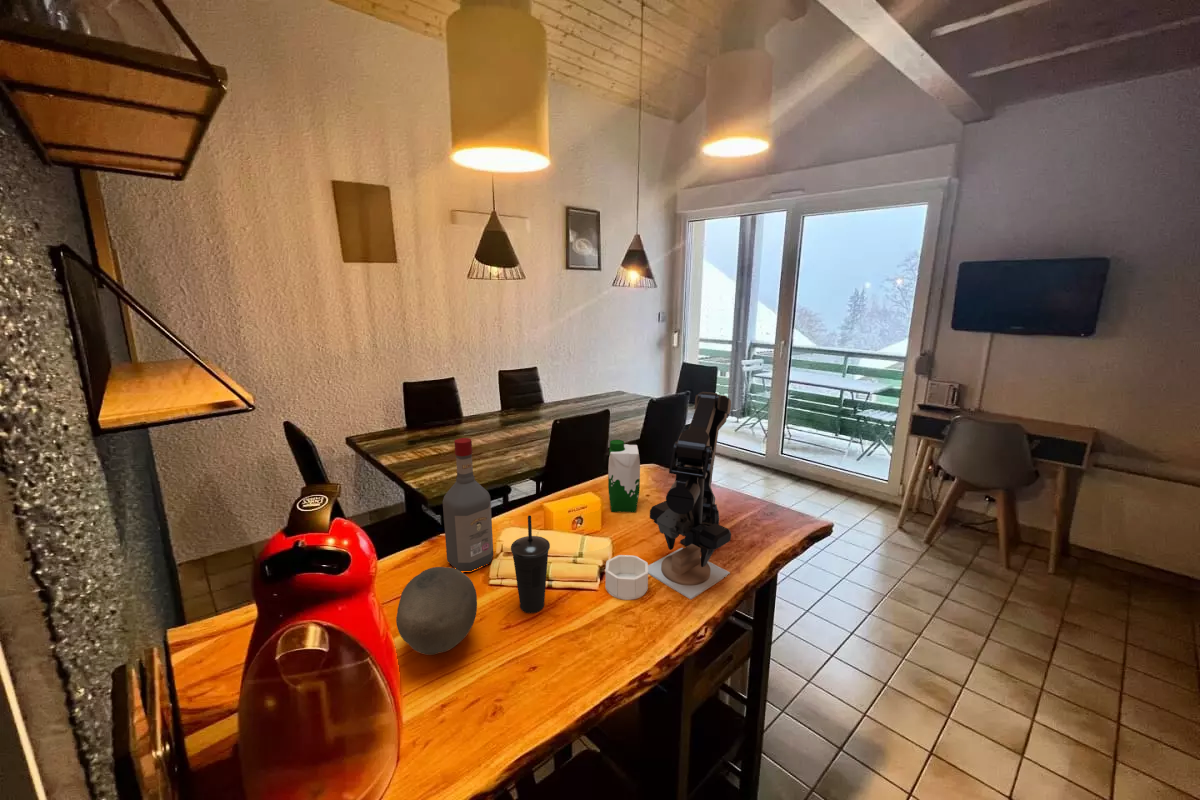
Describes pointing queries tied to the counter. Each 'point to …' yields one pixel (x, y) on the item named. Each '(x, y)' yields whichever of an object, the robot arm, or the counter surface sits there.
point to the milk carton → (623, 476)
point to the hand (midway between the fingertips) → (686, 557)
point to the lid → (685, 567)
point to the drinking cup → (531, 570)
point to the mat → (687, 590)
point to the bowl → (626, 577)
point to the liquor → (467, 515)
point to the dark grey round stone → (436, 610)
